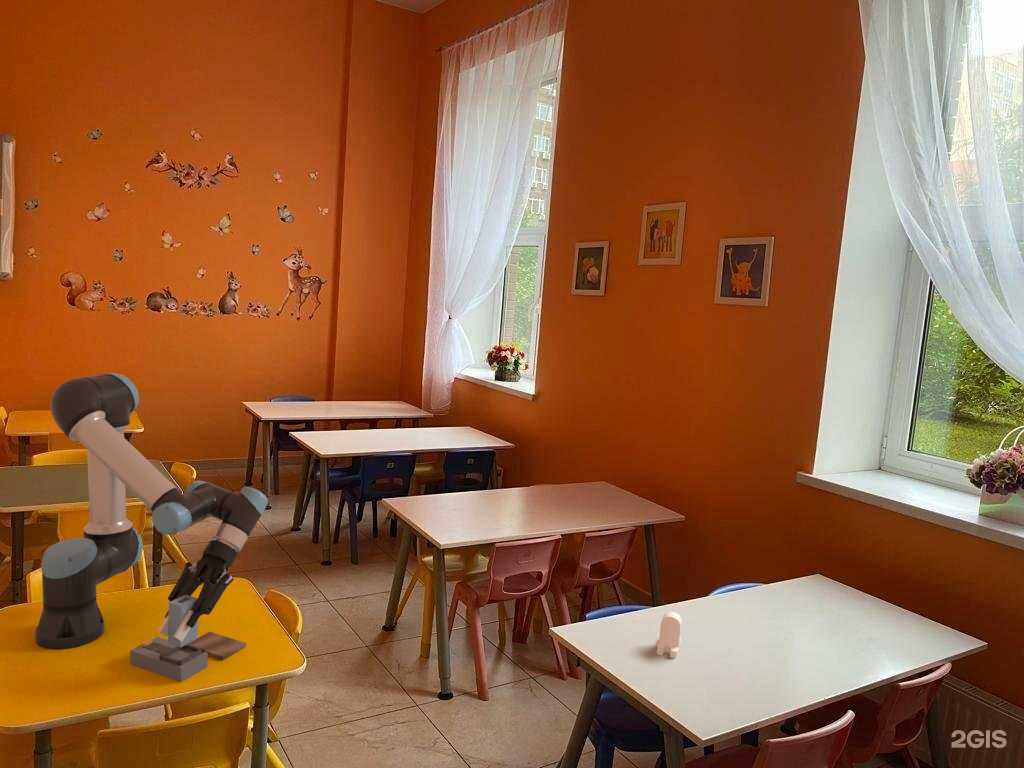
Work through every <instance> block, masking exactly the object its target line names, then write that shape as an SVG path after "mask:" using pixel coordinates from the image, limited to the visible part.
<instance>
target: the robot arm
mask: <svg viewBox="0 0 1024 768" xmlns="http://www.w3.org/2000/svg"><path fill="white" fill-rule="evenodd" d="M139 396H140V395H139V392H138V389H137V387H136V385H135V384H134V382H132V381H131V380H130V378H128V377H127V376H125V375H124V374H120V373H117V372H109V373H107V372H106V373H99V374H93V375H87V376H82V377H74V378H71V379H68V380H65V381H63V382H62V383H61V384H59V385H58V386H57V387H56V388H55V389H54V391H53V392H52V395H51V399H50V405H49V406H50V413H51V415H52V418H53V420H54V422H55V424H56V426H57V427H58V428H59V430H61V431H62V433H63V434H64V435H65V436H66V437H67V438H68V439H70V440H71V441H73V442H76V441H77V442H79V443H81V445H83V447H85V448H86V450H87V451H86V453H87V479H88V480H87V482H88V483H87V484H88V506H89V507H88V508H89V521H88V522H87V524H86V525H85V526H84V527H83V537H74V538H70V539H68V540H67V539H64V540H61V541H58V542H56V543H54V544H52V545H51V546H49V547H48V548H47V549H46V550H45V551H44V553H43V555H42V563H41V568H40V569H41V570H40V571H41V578H42V579H41V580H42V610H41V611H42V612H41V615H40V617H39V621H38V623H37V626H36V629H35V634H34V637H35V638H34V639H35V643H36V644H37V645H38V646H41V647H43V648H46V649H69V648H75V647H80V646H83V645H86V644H89V643H92V642H94V641H95V640H97V639H99V638H100V637H101V636H102V635H103V634H104V633H105V619H104V617H103V614H102V612H101V610H100V607H99V604H98V602H97V586H98V585H99V584H101V583H103V582H105V581H108V580H109V579H112V578H113V577H115V576H117V575H119V574H122V573H124V572H126V571H128V570H129V569H130V568H131V567H133V566H134V565H135V564H137V563H138V561H139V559H140V558H141V556H142V554H143V549H144V546H143V540H142V536H141V535H140V534H138V533H139V531H138V530H137V529H136V528H134V527H133V526H134V523H133V522H132V521H131V520H129V519H128V518H127V497H126V488H127V489H129V491H130V492H132V494H133V495H135V496H136V498H137V499H139V500H140V501H141V502H142V503H143V504H144V505H145V506H146V507H147V508H148V509H149V510H150V511H151V512H152V517H151V522H152V523H153V526H154V528H155V530H156V531H157V532H159V534H162V535H166V536H170V535H175V534H177V533H180V532H183V531H186V530H188V528H190V527H192V526H194V525H197V524H198V523H200V522H202V521H204V520H206V519H208V518H210V517H212V518H213V519H218V520H220V521H221V522H220V524H219V525H218V526H217V529H216V530H215V532H214V533H213V535H212V537H211V540H209V542H208V544H207V545H206V546H205V548H204V550H203V552H202V557H201V558H200V559H199V560H197V562H192V563H191V562H190V561H188V562H186V563H185V565H184V568H183V571H182V573H181V575H180V577H179V578H178V580H177V582H176V583H175V585H174V586H173V589H172V590H171V592H170V593H169V595H168V597H167V600H168V601H169V602H171V601H173V600H175V599H177V598H179V597H181V596H184V595H188V596H192V595H193V594H194V593H195V591H196V590H197V589H198V588H199V586H201V587H202V588H201V590H200V593H199V594H198V597H197V598H198V599H197V601H196V604H195V606H194V608H192V610H193V611H194V612H193V611H191V610H189V612H188V613H187V615H186V617H185V618H184V620H183V622H182V623H181V625H180V626H179V628H178V630H177V631H176V633H175V635H174V636H173V637H175V638H176V639H178V640H179V641H181V642H182V641H183V640H184V638H185V636H186V635H187V633H188V631H189V630H190V628H193V627H194V625H195V624H196V622H197V620H198V621H199V619H200V617H201V616H203V615H207V616H208V615H210V614H211V613H212V611H213V610H214V608H215V607H216V606H217V603H218V602H219V600H220V599H221V597H222V595H223V594H224V592H225V590H226V589H227V588H228V586H229V585H230V584H232V583H233V581H234V577H233V576H232V575H230V574H229V572H228V571H229V568H230V567H232V566H233V564H234V562H235V560H236V559H237V558H238V555H239V552H241V551H242V548H243V547H244V545H245V544H246V542H247V540H248V538H250V535H251V533H252V531H253V530H254V528H255V527H256V525H257V523H259V520H260V518H261V517H262V516H263V514H264V511H265V510H266V508H267V506H268V503H269V500H268V497H267V496H266V495H265V494H264V493H263V492H261V491H260V490H259V489H256V488H254V487H249V486H244V487H243V488H242V489H241V490H240V491H239V492H236V491H231V490H229V489H226V488H223V487H220V486H219V485H215V484H213V483H212V482H208V481H204V480H195V481H192V482H191V484H190V485H188V486H187V488H186V489H185V492H184V494H183V492H181V490H180V489H178V488H177V487H176V486H175V485H174V484H173V483H172V482H171V481H170V480H169V479H167V477H166V476H165V475H164V474H163V473H162V472H160V470H158V469H157V467H155V466H154V465H153V464H152V463H151V462H150V461H149V460H148V459H147V458H146V457H145V456H144V455H143V454H142V453H141V452H140V451H139V450H138V449H136V447H134V446H133V445H132V444H131V443H130V442H129V441H128V440H127V439H126V438H125V435H124V432H125V431H126V429H127V428H128V427H130V425H131V420H130V419H131V418H130V415H131V414H132V413H134V411H135V409H137V407H138V406H139V400H140V397H139ZM168 613H169V609H168V611H167V612H166V614H165V616H164V621H163V622H162V623H161V625H160V627H159V628H158V630H157V632H158V633H160V634H161V635H163V636H164V637H168Z"/></svg>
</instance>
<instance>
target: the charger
mask: <svg viewBox="0 0 1024 768" xmlns="http://www.w3.org/2000/svg"><path fill="white" fill-rule="evenodd" d="M197 599H198V597H195V596H192V595H191V596H188V595H184V596H181V597H179V598H177V599H175V600H173V601H171V602H170V601H169V602H168V610H169V613H168V635H167V640H168V643H170V644H172V645H175V646H178V647H183V646H185V645H186V644H188V643H190V642H192V641H194V640H196V639H197V638H199V637H198V636H199V633H198V627H199V619H198V620H197V622H196V624H195V625H194V627H193V628H190V630H189V631H188V633H187V635H186V636H185V638H184V640H183V641H182V642H181V641H179V640H178V639H176V638H175V637H173V636H174V635H175V633H176V631H177V630H178V628H179V626H180V625H181V623H182V622H183V620H184V618H185V617H186V615H187V613H188V612H189V610H191V611H193V610H192V608H194V606H195V604H196V601H197ZM193 612H194V611H193Z"/></svg>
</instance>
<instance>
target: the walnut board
mask: <svg viewBox="0 0 1024 768" xmlns="http://www.w3.org/2000/svg"><path fill="white" fill-rule="evenodd" d="M188 644H190V645H193V646H196V647H199V648H202V649H204V652H206V653H208V657H211V658H215V659H217V660H220V661H224V660H227V659H228V658H230V657H231V656H234V655H235V654H236V653H238V652H241V649H242V650H243V649H245V648H246V647H247V642H244V641H240V640H239V639H235V638H231V637H228V636H225V635H222V634H218V633H216V632H213V631H209V632H206V633H204V634H202V635H201V636H199V637H197V639H196V640H194V641H192V642H190V643H188Z"/></svg>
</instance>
